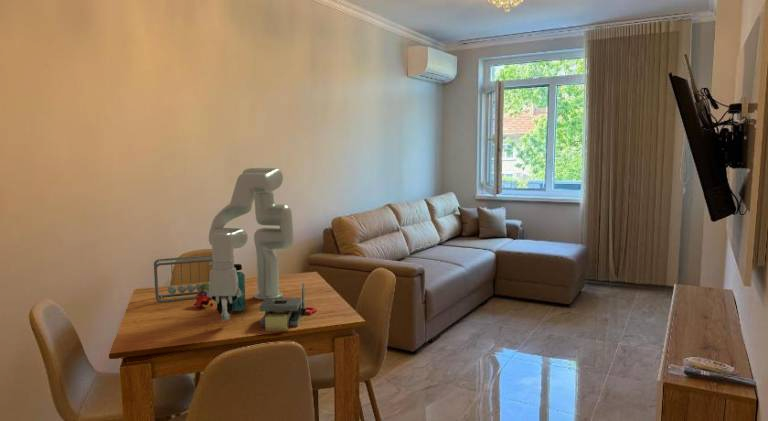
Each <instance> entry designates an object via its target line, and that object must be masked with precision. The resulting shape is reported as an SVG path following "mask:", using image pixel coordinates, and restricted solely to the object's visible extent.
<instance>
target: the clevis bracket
mask: <svg viewBox="0 0 768 421" xmlns="http://www.w3.org/2000/svg"><path fill="white" fill-rule="evenodd" d="M301 302H302V296H301V297H280V298H265V299H264V300H263V301H262V302H261V304H260V305H259V312H264V315H263V316H262V317H261V319H260V321H259V327H260V328H261V327H262V328H263V327H265V332H287V331H288V330H289V328H290V327H298V326H299V323H300V322H301V319H302V315H301Z"/></svg>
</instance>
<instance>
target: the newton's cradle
mask: <svg viewBox="0 0 768 421" xmlns="http://www.w3.org/2000/svg"><path fill="white" fill-rule="evenodd" d="M212 261H213V258H212V254H210V255H209V254H206V255H194V256H183V257H168V258H158V259H156V260H155V261H154V262H153V275H154V292H155V300H156V302H157V303H160V304H161V303H162V302H164V303H171V302H180V301H190V300H191V301H192V300H196V296H189V295H197V294H198V293H199V288H200V286H201V285H202V284H203V283H202V282H201V275H200V274H201V270H200V268H201V267H200V263H205V262H206V263H209V262H212ZM196 263H197V264H198V280H199V281H198V283H197V284H196V285H195V284H193V283H192V269H191V266H192V265H191V264H196ZM182 264H183V265H184V264H189V275H190V276H189V278H190V280H189V281H190V283H188V284H187V286H186V285H184V284H183V277H182V276H183V270H182V269H183V268H182V267H183V266H182ZM173 265H180V278H181V279H180V281H181V284H180V285H178V287H176V286H175V285H173V284H171V285H169V286H168V288H167V293H168V294H167V293H166V294H159V283H158V282H159V281H158V267H159V266H170V268H171V271H170V272H171V274H173ZM206 265H207V266H206V268H207V269H206V270H207V282H206V283H208V285H209V279H210V272H209V264H206ZM208 288H209V286H208ZM186 291H187V292H186ZM176 292H177V293H176ZM170 296H171V297H179V296H188V297H180V298H170V299H163V298H169V297H170ZM160 297H161V298H160ZM159 298H160V299H159Z"/></svg>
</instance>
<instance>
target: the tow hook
mask: <svg viewBox="0 0 768 421" xmlns="http://www.w3.org/2000/svg"><path fill="white" fill-rule="evenodd" d="M301 284H302V285H301V286H302V287H301V316H303V315H307V316H311V315H312V314H313V313H316V312H317V310H318V309H317V308H316V307H313V306H306V299H305V298H306V296H305V294H306V290H305V289H306V288H305V282H302V283H301Z"/></svg>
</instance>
